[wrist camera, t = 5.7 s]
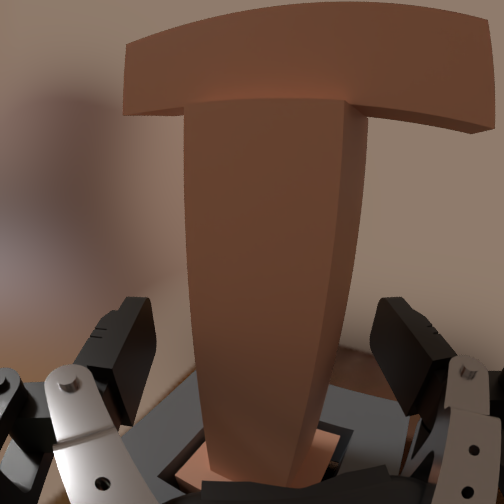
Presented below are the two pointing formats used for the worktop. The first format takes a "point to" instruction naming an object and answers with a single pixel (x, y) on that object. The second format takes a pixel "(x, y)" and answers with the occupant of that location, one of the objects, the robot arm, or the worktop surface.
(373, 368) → the worktop surface
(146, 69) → the t key
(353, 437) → the socket block
